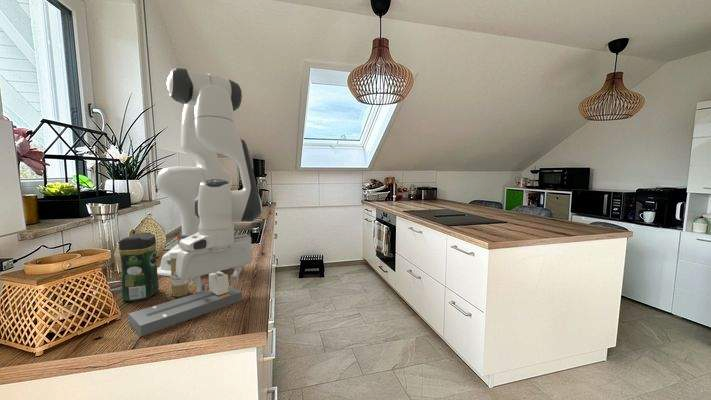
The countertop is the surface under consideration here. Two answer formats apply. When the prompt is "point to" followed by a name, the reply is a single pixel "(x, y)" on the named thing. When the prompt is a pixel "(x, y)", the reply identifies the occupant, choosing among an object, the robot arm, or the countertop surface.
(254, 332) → the countertop surface
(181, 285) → the sprinkles bottle
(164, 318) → the slider console
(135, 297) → the coffee jar
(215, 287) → the fader tab
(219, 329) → the countertop surface
